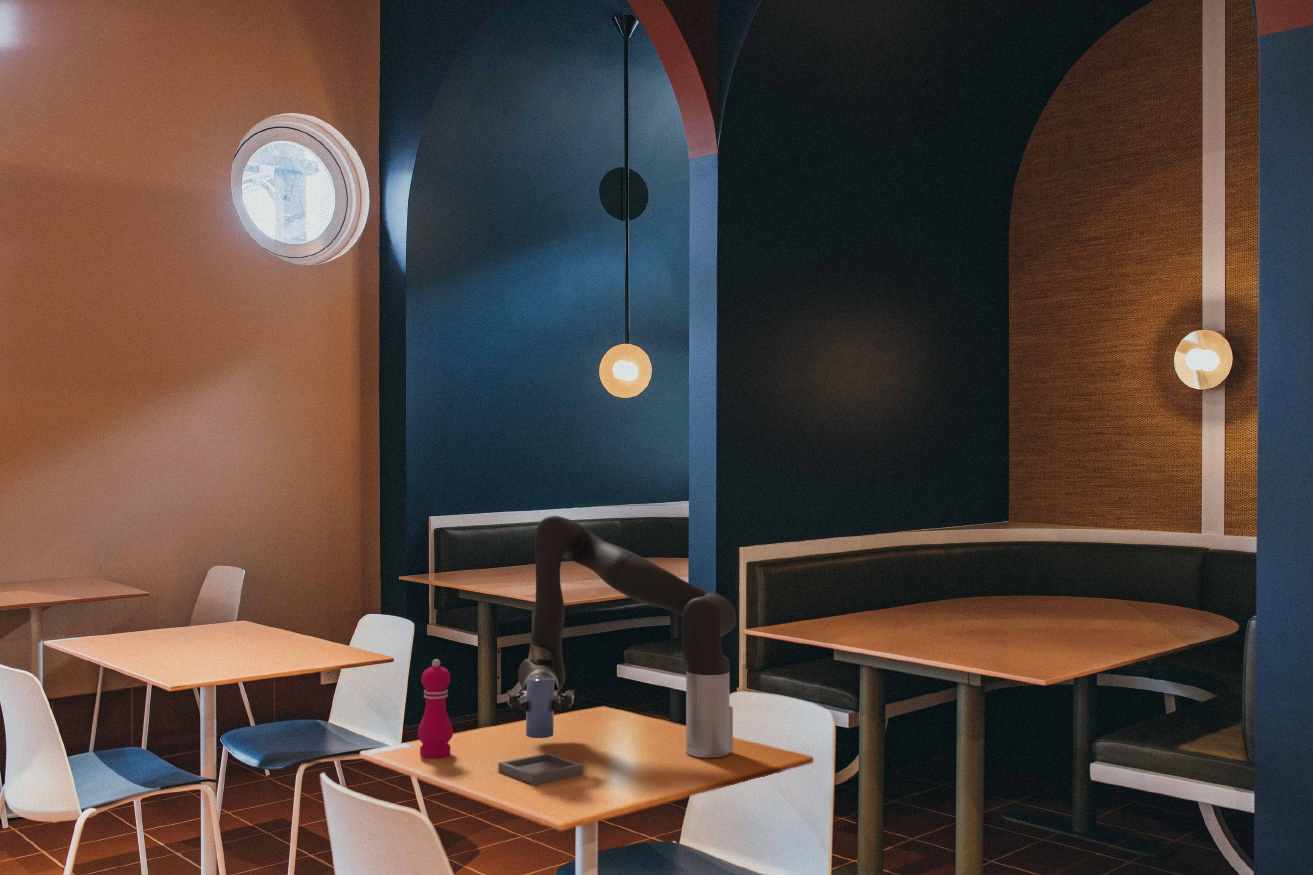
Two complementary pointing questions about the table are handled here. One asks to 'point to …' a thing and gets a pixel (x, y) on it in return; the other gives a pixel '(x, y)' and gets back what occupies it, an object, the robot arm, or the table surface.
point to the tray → (540, 768)
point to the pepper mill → (435, 713)
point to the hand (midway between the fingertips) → (540, 707)
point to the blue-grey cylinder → (540, 707)
